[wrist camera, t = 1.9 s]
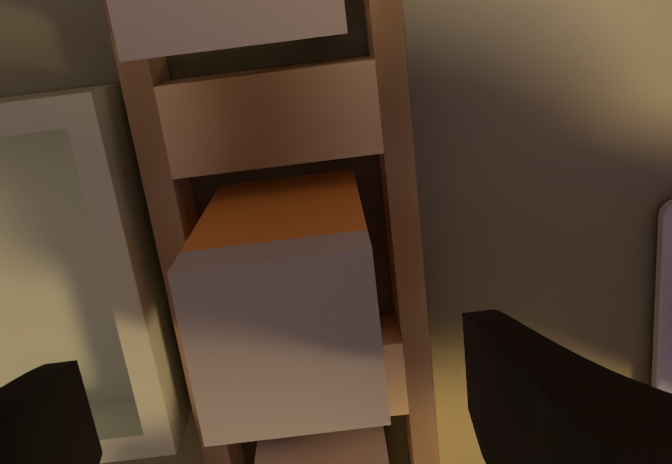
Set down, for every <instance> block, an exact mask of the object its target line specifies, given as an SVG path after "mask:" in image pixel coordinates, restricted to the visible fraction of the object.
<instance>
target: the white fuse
mask: <svg viewBox="0 0 672 464" xmlns="http://www.w3.org/2000/svg"><path fill="white" fill-rule="evenodd" d="M106 2H107V7H108V11H109V16H110V20H111V25H112V30H113V34H114V39H115V43H116V48H117V52H118V57H119V62H124V61H132V60H140V59H148V58H156V57H164V56H172V55H180V54H188V53H196V52H204V51H211V50H219V49H227V48H235V47H243V46H251V45H259V44H267V43H275V42H283V41H291V40H299V39H307V38H315V37H323V36H331V35H339V34H347V33H348V31H347V22H346V13H345V3H344V0H106Z"/></svg>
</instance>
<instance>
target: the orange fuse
mask: <svg viewBox="0 0 672 464" xmlns="http://www.w3.org/2000/svg"><path fill="white" fill-rule="evenodd" d="M167 277H168V281H169V286H170V291H171V295H172V300H173V304H174V309H175V314H176V318H177V323H178V328H179V332H180V337H181V341H182V346H183V351H184V355H185V360H186V364H187V369H188V374H189V378H190V383H191V387H192V392H193V397H194V401H195V406H196V411H197V415H198V420H199V424H200V429H201V434H202V438H203V443H204V447H209V446H217V445H226V444H234V443H242V442H251V441H259V440H268V439H276V438H285V437H293V436H302V435H310V434H319V433H327V432H336V431H344V430H352V429H361V428H369V427H378V426H386V425H391V419H390V410H389V401H388V391H387V382H386V373H385V363H384V354H383V345H382V336H381V326H380V317H379V308H378V298H377V289H376V280H375V271H374V261H373V252H372V246H371V242H370V238H369V234H368V229H367V225H366V221H365V217H364V213H363V209H362V205H361V200H360V196H359V192H358V188H357V184H356V180H355V176H354V171H353V170H346V171H338V172H330V173H322V174H314V175H305V176H297V177H289V178H281V179H273V180H265V181H256V182H248V183H240V184H232V185H224V186H219V188H218V189H217V191H216V193H215V194H214V196H213V198H212V199H211V201H210V203H209V204H208V206H207V207H206V209H205V211H204V212H203V214H202V216H201V217H200V219H199V221H198V222H197V224H196V226H195V227H194V229H193V231H192V232H191V234H190V236H189V237H188V239H187V241H186V242H185V244H184V246H183V247H182V249H181V251H180V252H179V254H178V256H177V257H176V259H175V261H174V262H173V264H172V266H171V267H170V269H169V271H168V272H167Z"/></svg>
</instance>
